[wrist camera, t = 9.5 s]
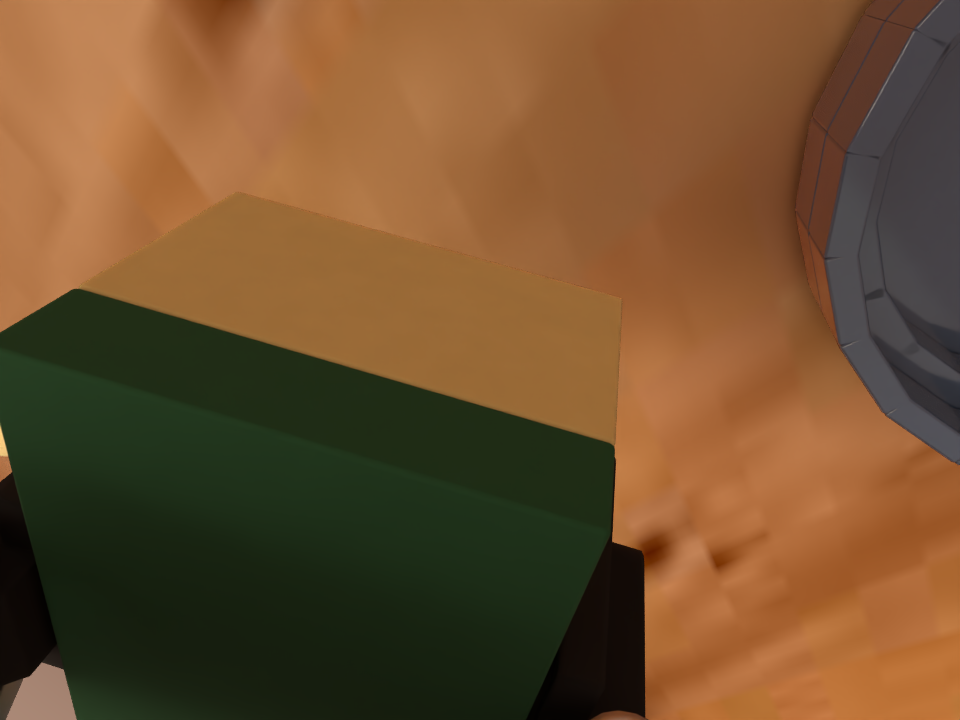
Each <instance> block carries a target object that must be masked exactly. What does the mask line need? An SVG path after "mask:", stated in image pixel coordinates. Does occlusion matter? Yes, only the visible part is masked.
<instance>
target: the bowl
mask: <svg viewBox="0 0 960 720" xmlns="http://www.w3.org/2000/svg"><path fill="white" fill-rule="evenodd" d="M812 117H813V118H811V120H810V124H809V130H808V135H807V141H806V147H805V153H804V158H803V164H802V170H801V176H800V181H799V187H798V193H797V199H796V204H795V208H796V211H795V214H796V219H797V225H798V230H799V235H800V241H801V246H802V251H803V257H804V262H805V268H806V273H807V278H808V284H809V286H810V289H811V291H812V293H813V295H814V297H815V299H816V301H817V303H818V305H819V307H820V309H821V311H822V313H823V315H824V317H825V319H826V321H827V324H828V326H829V328H830V330H831V332H832V334H833V336H834V338H835V340H836V342H837V344H838V346H839V348H840V350H841V351H842V353H843V354H844V356H845V357H846V359H847V360H848V362H849V363H850V365H851V366H852V368H853V369H854V371H855V372H856V374H857V375H858V377H859V378H860V380H861V381H862V383H863V384H864V386H865V387H866V389H867V390H868V392H869V394H870V395H871V397H872V398H873V400H874V401H875V403H876V404H877V406H878V407H879V409H880V410H881V412H883V413H884V414H885V416H887V417H888V418H889V419H891V420H892V421H894V422H895V423H897V424H898V425H899V426H901V427H902V428H904V429H905V430H907V431H908V432H909V433H911V434H912V435H914V436H915V437H917V438H918V439H919V440H921V441H922V442H924V443H925V444H927V445H928V446H930V447H931V448H932V449H934V450H935V451H937V452H938V453H940V454H941V455H942V456H944V457H945V458H947V459H948V460H950V461H951V462H955V463H956V464H958V465H960V0H874V1H873V2H872V3H871V5H870V6H869V7H868V8H867V9H866V10H865V12H864V15H863V16H862V17H861V19H860V21H859V23H858V25H857V27H856V29H855V31H854V33H853V35H852V36H851V38H850V40H849V42H848V44H847V46H846V48H845V50H844V52H843V54H842V56H841V58H840V60H839V62H838V64H837V66H836V68H835V70H834V72H833V74H832V76H831V78H830V80H829V82H828V84H827V86H826V88H825V90H824V92H823V94H822V96H821V98H820V100H819V102H818V104H817V106H816V108H815V110H814V112H813V114H812Z"/></svg>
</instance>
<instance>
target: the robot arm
mask: <svg viewBox="0 0 960 720" xmlns="http://www.w3.org/2000/svg"><path fill="white" fill-rule="evenodd" d="M615 470H616V459H615V457H614V476H613V496H612V515H611V534H610V537H609V539H608V541H607V543H606V545H605V548H604V550H603V552H602V554H601V556H600V559H599V561H598V563H597V565H596V567H595V570H594V572H593V574H592V576H591V578H590V581H589V583H588V585H587V587H586V589H585V591H584V594H583V596H582V598H581V600H580V602H579V605H578V607H577V609H576V611H575V613H574V616H573V618H572V620H571V622H570V624H569V627H568V629H567V631H566V633H565V635H564V638H563V640H562V642H561V644H560V646H559V648H558V651H557V653H556V655H555V657H554V659H553V662H552V664H551V666H550V668H549V670H548V673H547V675H546V677H545V679H544V681H543V684H542V686H541V688H540V690H539V692H538V695H537V697H536V699H535V701H534V703H533V706H532V708H531V710H530V712H529V714H528V716H527V719H526V720H648V719H646V718H645V603H644V556H643V553H642V551H640V550H637V549H634V548H630V547H627V546H624V545H620V544H617V543H614V542H612V532H613V511H614V491H615ZM41 662H43V663H46V664H49V665H52V666H55V667H59V668H61V669H64V668H63V664H62V661H61V657H60V653H59V649H58V645H57V641H56V637H55V634H54V630H53V626H52V622H51V618H50V614H49V611H48V607H47V603H46V599H45V595H44V591H43V588H42V584H41V580H40V576H39V572H38V568H37V565H36V561H35V557H34V553H33V549H32V545H31V542H30V538H29V534H28V530H27V526H26V522H25V518H24V515H23V511H22V507H21V503H20V499H19V495H18V492H17V488H16V484H15V480H14V476H13V472H12V473H11V474H9V475H8V476H7V477H6V478H5V479H3V480H2V481H1V482H0V720H6V717H7V715H8V713H9V711H10V708H11V706H12V703H13V701H14V699H15V697H16V695H17V692H18V690H19V688H20V685H21V683H22V681H23V678H26V677H29V676H30V675H31V674H32V673H33V672H34V671H35V669H36V668H37V667H38V666H39V665H40V663H41Z"/></svg>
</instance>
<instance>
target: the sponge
mask: <svg viewBox="0 0 960 720" xmlns="http://www.w3.org/2000/svg"><path fill="white" fill-rule="evenodd" d="M621 320H622V299H621V298H620V297H617V296H613V295H609V294H606V293H602V292H599V291H595V290H591V289H588V288H584V287H580V286H577V285H573V284H570V283H566V282H562V281H559V280H555V279H552V278H548V277H544V276H541V275H537V274H534V273H530V272H526V271H523V270H519V269H515V268H512V267H508V266H505V265H501V264H497V263H494V262H490V261H487V260H483V259H479V258H476V257H472V256H469V255H465V254H461V253H458V252H454V251H450V250H447V249H443V248H440V247H436V246H432V245H429V244H425V243H422V242H418V241H414V240H411V239H407V238H403V237H400V236H396V235H393V234H389V233H385V232H382V231H378V230H375V229H371V228H367V227H364V226H360V225H357V224H353V223H349V222H346V221H342V220H338V219H335V218H331V217H328V216H324V215H320V214H317V213H313V212H310V211H306V210H302V209H299V208H295V207H291V206H288V205H284V204H281V203H277V202H273V201H270V200H266V199H263V198H259V197H255V196H252V195H248V194H245V193H241V192H235V193H233V194H232V195H230V196H228V197H227V198H225V199H223V200H222V201H220V202H218V203H217V204H215V205H213V206H212V207H210V208H208V209H207V210H205V211H203V212H202V213H200V214H198V215H197V216H195V217H193V218H191V219H190V220H188V221H186V222H185V223H183V224H181V225H180V226H178V227H176V228H175V229H173V230H171V231H170V232H168V233H166V234H165V235H163V236H161V237H160V238H158V239H156V240H155V241H153V242H151V243H149V244H148V245H146V246H144V247H143V248H141V249H139V250H138V251H136V252H134V253H133V254H131V255H129V256H128V257H126V258H124V259H123V260H121V261H119V262H118V263H116V264H114V265H113V266H111V267H109V268H107V269H106V270H104V271H102V272H101V273H99V274H97V275H96V276H94V277H92V278H91V279H89V280H87V281H86V282H84V283H82V284H81V285H80V286H79V289H72V290H71V291H69V292H67V293H66V294H64V295H62V296H61V297H59V298H57V299H56V300H54V301H52V302H51V303H49V304H47V305H46V306H44V307H42V308H41V309H39V310H37V311H36V312H34V313H32V314H30V315H29V316H27V317H25V318H24V319H22V320H20V321H19V322H17V323H15V324H14V325H12V326H10V327H9V328H7V329H5V330H4V331H2V332H0V426H1V430H2V434H3V438H4V442H5V446H6V449H7V453H8V457H9V461H10V465H11V469H12V472H13V476H14V480H15V484H16V488H17V492H18V495H19V499H20V503H21V507H22V511H23V515H24V518H25V522H26V526H27V530H28V534H29V538H30V542H31V545H32V549H33V553H34V557H35V561H36V565H37V568H38V572H39V576H40V580H41V584H42V588H43V591H44V595H45V599H46V603H47V607H48V611H49V614H50V618H51V622H52V626H53V630H54V634H55V637H56V641H57V645H58V649H59V653H60V657H61V661H62V664H63V668H64V672H65V675H66V680H67V684H68V687H69V691H70V695H71V699H72V703H73V707H74V710H75V714H76V718H77V720H526V719H527V716H528V714H529V712H530V710H531V708H532V706H533V703H534V701H535V699H536V697H537V695H538V692H539V690H540V688H541V686H542V684H543V681H544V679H545V677H546V675H547V673H548V670H549V668H550V666H551V664H552V662H553V659H554V657H555V655H556V653H557V651H558V648H559V646H560V644H561V642H562V640H563V638H564V635H565V633H566V631H567V629H568V627H569V624H570V622H571V620H572V618H573V616H574V613H575V611H576V609H577V607H578V605H579V602H580V600H581V598H582V596H583V594H584V591H585V589H586V587H587V585H588V583H589V581H590V578H591V576H592V574H593V572H594V570H595V567H596V565H597V563H598V561H599V559H600V556H601V554H602V552H603V550H604V548H605V545H606V543H607V541H608V539H609V537H610V534H611V515H612V496H613V476H614V456H615V449H614V445H615V439H616V419H617V399H618V380H619V360H620V340H621Z"/></svg>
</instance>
